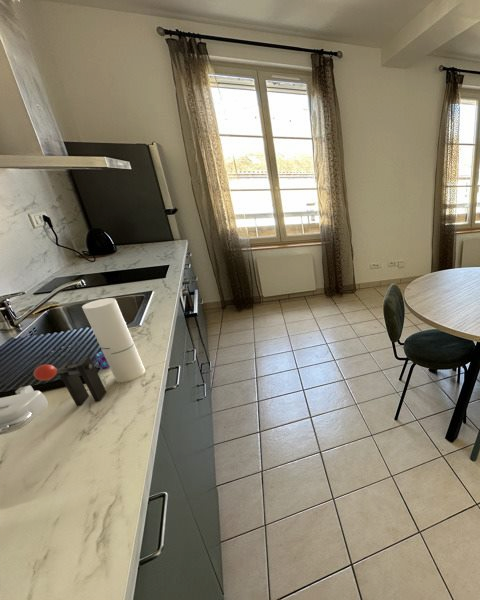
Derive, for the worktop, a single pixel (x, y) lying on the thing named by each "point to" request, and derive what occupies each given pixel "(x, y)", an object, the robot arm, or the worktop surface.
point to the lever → (53, 371)
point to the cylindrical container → (114, 339)
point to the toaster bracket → (77, 386)
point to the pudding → (101, 360)
